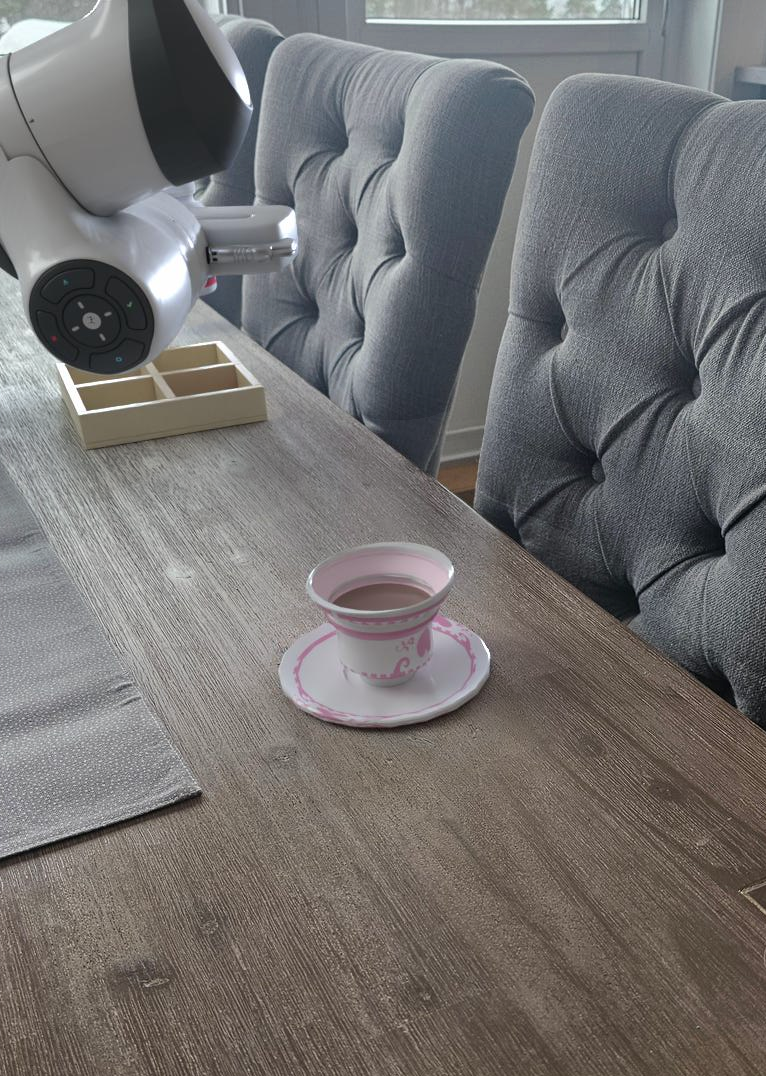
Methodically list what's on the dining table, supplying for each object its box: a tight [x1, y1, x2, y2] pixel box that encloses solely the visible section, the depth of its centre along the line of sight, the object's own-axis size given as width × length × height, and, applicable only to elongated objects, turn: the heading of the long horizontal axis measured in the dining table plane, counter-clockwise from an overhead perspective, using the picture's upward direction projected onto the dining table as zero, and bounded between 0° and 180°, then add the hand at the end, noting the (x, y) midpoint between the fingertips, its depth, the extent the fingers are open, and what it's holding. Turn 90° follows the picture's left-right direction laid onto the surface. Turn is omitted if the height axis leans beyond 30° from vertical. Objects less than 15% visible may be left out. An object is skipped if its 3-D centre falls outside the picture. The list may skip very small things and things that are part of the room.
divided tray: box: [54, 340, 269, 451], centre depth 101 cm, size 16×16×3 cm
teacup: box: [277, 541, 491, 728], centre depth 62 cm, size 12×12×6 cm
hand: (175, 219), depth 90 cm, fingers closed on pill bottle, 5 cm apart
